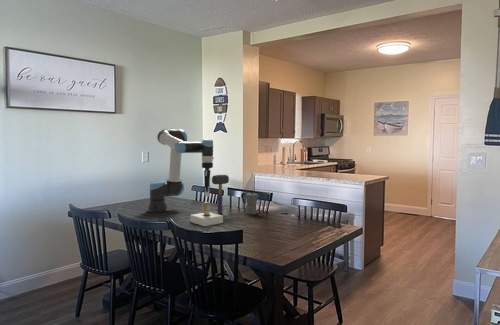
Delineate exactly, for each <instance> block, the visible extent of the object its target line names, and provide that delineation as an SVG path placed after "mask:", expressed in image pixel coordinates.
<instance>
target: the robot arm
mask: <svg viewBox="0 0 500 325" xmlns="http://www.w3.org/2000/svg"><path fill="white" fill-rule="evenodd" d="M156 136H157V137H156V139H157V142H159V143H160V144H161V145H163V146H165V145H166V146H168V147H169V148H170V154H169V155H170V156H169V160H170V161H169V172H168V173H169V174H168V178H167V179H166V181H165V180H156V181H152V182H151V183H150V184H149V203H148V206H147V212H148V213H154V214H155V213H156V214H157V213H165V212H166V213H167V212H168V206H167V202H166V198H169V197H180V196H181V195H182V194H183V193H184V190H185V185H184V182H183V181H182V179H181V163H182V154H201V168H202V169H204V171H203V175H204V177H203V178H204V185H203V187H204V197H210V187H211V185H210V184H211V172H212V171H211V169H212V168H214V159H215V158H214V140H213V139H202V141H188V135H187V133H186V131H185V130H184V129H178V128H177V129H176V128H175V129H174V128H170V129H169V128H164V129H162V130H160V131H159V132H158V134H157V135H156Z"/></svg>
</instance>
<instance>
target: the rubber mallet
mask: <svg viewBox="0 0 500 325" xmlns="http://www.w3.org/2000/svg"><path fill="white" fill-rule="evenodd" d="M211 182H212V185H218V195H217V211H216V212H217V213H218V214H222V213H223V185H226V184H228V183H229V182H230V178H229V175H228V174H217V175H216V174H215V175H212V177H211Z"/></svg>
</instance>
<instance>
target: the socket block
mask: <svg viewBox="0 0 500 325" xmlns="http://www.w3.org/2000/svg"><path fill="white" fill-rule="evenodd" d="M189 219H190V223H193V224H195V225H198V224H199V225H198V226H202V227H208V226H214V225H218V224H223V223H224V215H221V214H220V213H218V214H217V213H213V212H211V211H210V216H204V212H201V213H200V212H199V213H195V214H190V218H189Z"/></svg>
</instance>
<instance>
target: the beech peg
mask: <svg viewBox="0 0 500 325" xmlns="http://www.w3.org/2000/svg"><path fill="white" fill-rule="evenodd" d="M210 207H211V202H210V201H204V202H203V213H204V216H210V212H211V211H210V210H211V208H210Z"/></svg>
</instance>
